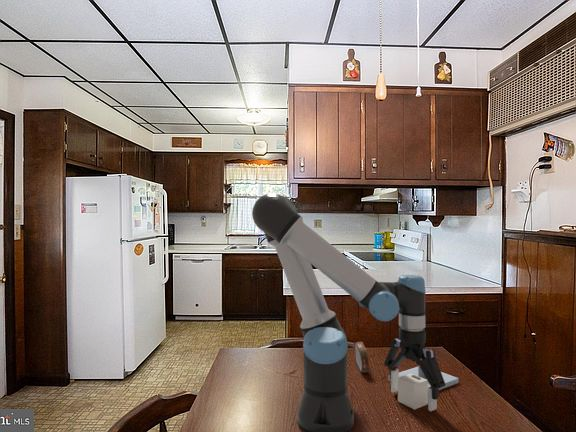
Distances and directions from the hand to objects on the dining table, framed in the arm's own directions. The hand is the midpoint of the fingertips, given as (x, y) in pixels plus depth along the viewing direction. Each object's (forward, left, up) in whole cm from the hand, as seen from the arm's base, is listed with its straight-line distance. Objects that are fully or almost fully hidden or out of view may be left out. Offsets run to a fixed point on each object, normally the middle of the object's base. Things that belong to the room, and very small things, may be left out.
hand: (412, 400), depth 112 cm
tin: (+6, +28, -1) cm, 29 cm away
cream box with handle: (0, 0, -1) cm, 1 cm away
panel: (+15, +8, -1) cm, 17 cm away
